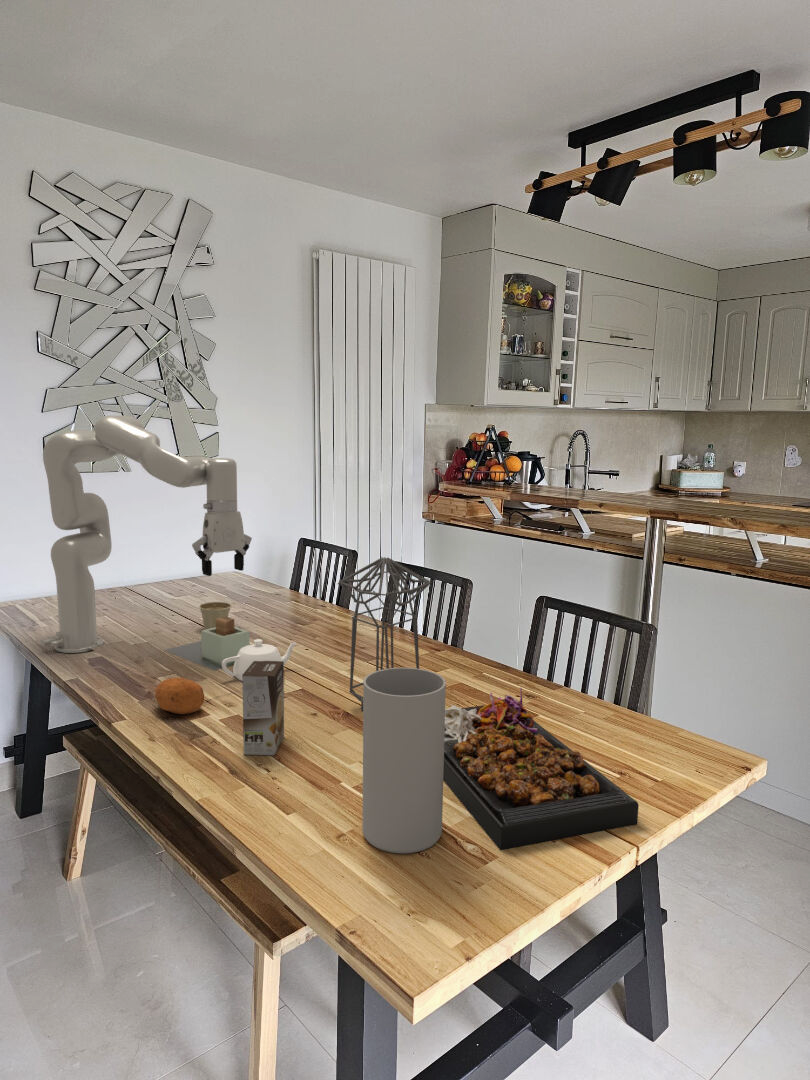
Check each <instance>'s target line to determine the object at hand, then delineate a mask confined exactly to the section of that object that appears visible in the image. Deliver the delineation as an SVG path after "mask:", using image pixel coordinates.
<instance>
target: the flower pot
mask: <svg viewBox="0 0 810 1080" xmlns="http://www.w3.org/2000/svg"><path fill="white" fill-rule="evenodd" d="M198 608H199V609H200V613H201V616H202V622H203V623H202V624H203V630H206V629H211V628H215V627H216V619H217V618H221V617H228V618H229V613H230V610H231V608H232V604H231V603H229V602H225V601H209V602H205V603H201V604H199V606H198Z"/></svg>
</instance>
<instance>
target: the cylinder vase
mask: <svg viewBox="0 0 810 1080" xmlns="http://www.w3.org/2000/svg"><path fill="white" fill-rule="evenodd" d="M362 683H363V685H362V686H363V689H362V690H363V694H362V695H363V710H362V712H363V715H362V718H363V720H362V725H363V726H362V825H361V826H362V834H363V836H364V838H365V839H366V840H367V842H368V843H370V845H372V846H374V847H375V848H376V849H378V850H381V851H383V852H388V853H392V854H393V853H394V854H401V855H402V854H413V853H414V854H415V853H418V852H422V851H424V850H427V849H429V848H430V847H432V846H434V845H435V844H436V843H437V842H438V841H439V840H440V837H441V836H442V832H443V810H444V809H443V805H444V803H443V801H444V781H443V771H444V733H445V709H446V689H447V688H446V684H447V682H446V680H445V678H444V677H443V676H442V675H440V674H438V673H437V672H433V671H430V670H428V669H422V668H419V669H416V667H394V668H391V667H389V669H386V668H384V669H383V670H380V669H379V671H376V670H375V671H373V672H371V673H369V674H367V675H366V676H365V677H364V678H363V682H362Z"/></svg>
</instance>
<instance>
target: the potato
mask: <svg viewBox="0 0 810 1080" xmlns="http://www.w3.org/2000/svg"><path fill="white" fill-rule="evenodd" d="M154 696H155V697H154V698H155V700H156V702H157V704H158V706H159V707H160V709H161V710H164V711H167V712H171V713H173V714H178V715H186V714H192V713H194V712H197V711H199V710H200V709H201V707H202V706H203V704H204V703H205V693H204V690H203V688H202V686H201V685H200V684H199V683H197V682H196V681H194V680H191V679H187V678H184V677H173V678H172V677H170V678H167V679H164V680H162V681H161V682H160V683H159V684H157V686H156V687H155V689H154Z"/></svg>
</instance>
